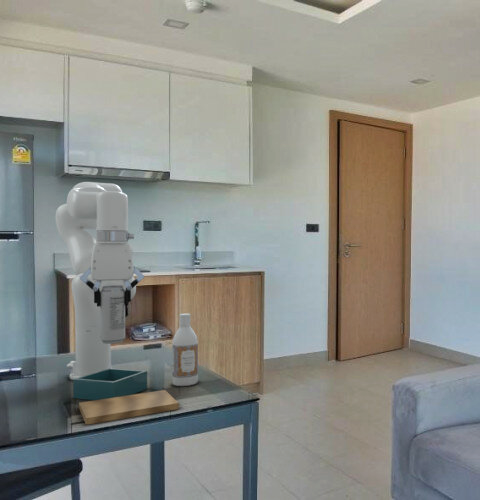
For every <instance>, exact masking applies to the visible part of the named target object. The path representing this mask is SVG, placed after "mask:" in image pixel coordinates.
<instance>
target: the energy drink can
mask: <svg viewBox="0 0 480 500" xmlns="http://www.w3.org/2000/svg"><path fill="white" fill-rule="evenodd" d="M125 339H126V305H125V291H124V289H123V286H121V285H111V286H103V289H102V290H101V292H100V340H102V342H103V343H104V344H111V345H115V344H122V343H123V342H124V340H125Z"/></svg>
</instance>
